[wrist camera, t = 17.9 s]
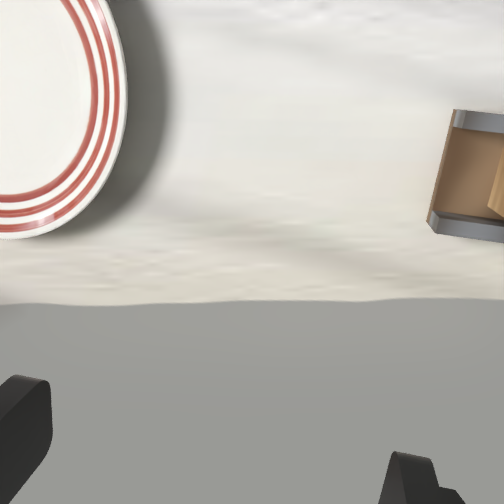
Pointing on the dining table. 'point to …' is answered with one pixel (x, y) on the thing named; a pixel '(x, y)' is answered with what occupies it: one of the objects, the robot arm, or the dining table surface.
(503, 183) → the oak block
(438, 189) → the walnut track
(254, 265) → the dining table surface
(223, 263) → the dining table surface
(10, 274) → the dining table surface
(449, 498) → the robot arm
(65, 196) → the dinner plate
